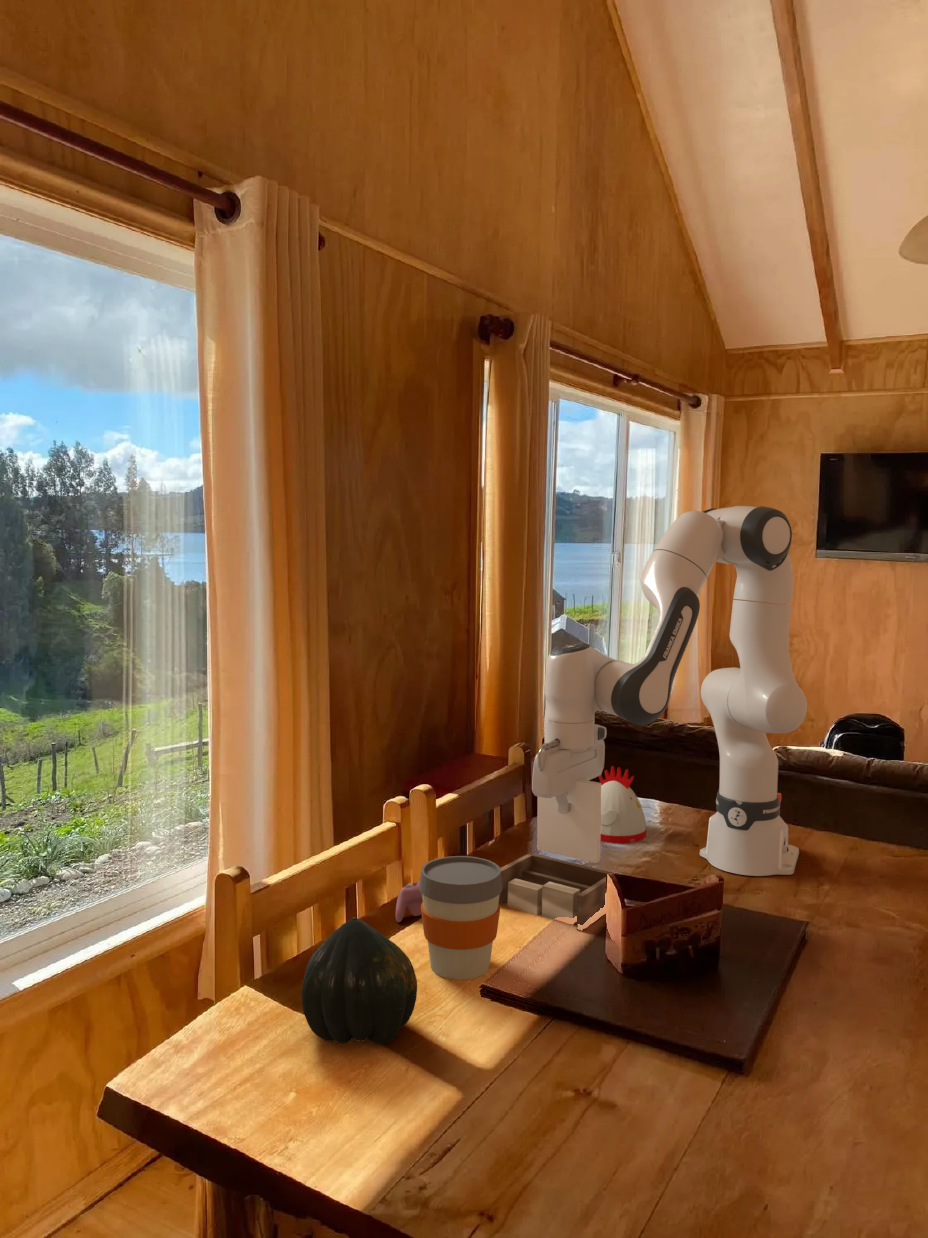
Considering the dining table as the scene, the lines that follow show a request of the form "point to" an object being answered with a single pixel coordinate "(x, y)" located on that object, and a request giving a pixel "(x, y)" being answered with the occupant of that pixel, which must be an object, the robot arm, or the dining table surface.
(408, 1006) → the squash
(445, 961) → the reusable coffee cup
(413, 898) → the video game controller
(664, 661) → the robot arm
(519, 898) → the birch offcut
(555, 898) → the birch offcut
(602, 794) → the kitchen timer
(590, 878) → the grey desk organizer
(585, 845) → the white panel
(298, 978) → the dining table surface
